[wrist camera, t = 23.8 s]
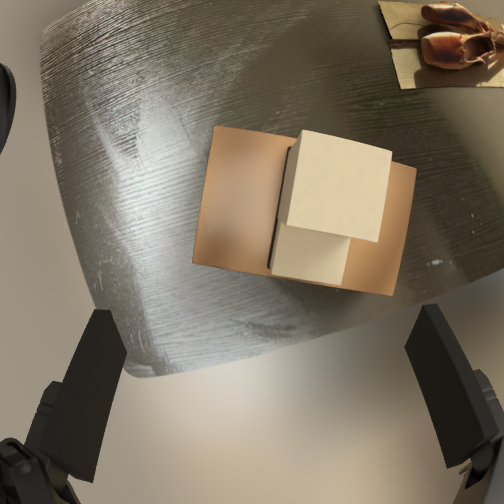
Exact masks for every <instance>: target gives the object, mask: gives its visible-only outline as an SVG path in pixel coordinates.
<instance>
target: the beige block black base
mask: <svg viewBox="0 0 504 504" xmlns="http://www.w3.org/2000/svg"><path fill="white" fill-rule="evenodd" d="M391 157H392V151H388V150H385V149H381V148H378V147H374V146H370V145H367V144H363V143H359V142H355V141H351V140H347V139H343V138H339V137H334V136H330V135H326V134H321V133H317V132H312V131H307V130H302V132H301V133H300V135H299V136H298V138H297V140H296V141H295V143H294V144H293V146H292V147H291V146H289V147H288V148H287V154H286V160H285V165H284V171H283V177H282V183H281V189H280V195H279V200H278V206H277V212H276V217H275V223H274V229H273V234H272V240H271V245H270V251H269V257H268V262H267V268H268V269H271V274H272V275H278V276H284V277H290V278H296V279H302V280H308V281H314V282H320V283H326V284H333V285H339V286H340V285H341V282H342V278H343V273H344V269H345V264H346V260H347V255H348V250H349V245H350V240H351V238H356V239H361V240H366V241H371V242H376V243H377V242H378V238H379V232H380V227H381V222H382V216H383V210H384V205H385V199H386V192H387V186H388V179H389V172H390V165H391Z"/></svg>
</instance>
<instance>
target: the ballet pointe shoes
mask: <svg viewBox="0 0 504 504" xmlns="http://www.w3.org/2000/svg"><path fill="white" fill-rule="evenodd" d="M378 3H379V4H380V6H381V7H380V9H381V10H382V14H384V15H383V16H384V18H385V21H386V24H387V26H388V27H389V31H390V34H391V36H392V37H393V39H392V40H390V41H388V45H389V48H390V49H392V50H391V52H393V53H392V54H393V56H392V58H393V61H394V64H395V69H396V72H397V76H398V80H399V83H400V86H401V89H411V88H425V87H427V88H428V87H444V86H445V87H446V86H447V87H449V85H450V87H451V86H454V87H455V86H457V87H458V86H461V87H463V86H478V87H479V86H480V87H481V86H483V85H484V87H486V86H487V87H488V86H493V87H494V86H495V87H504V25H503V24H501V23H500V21H499V20H496V19H492V18H490V17H484V16H482V15H481V16H480V15H475V14H472V13H470V12H469V11H468V10H467V9H465V8H464V7H463V6H461V5H459V4H457V3H455V2H453V3H448V2H445V1H441V2H440V3H436V4H426V5H424V4H412V3H405V2H404V3H399V2H387V1H385V2H382V1H378Z"/></svg>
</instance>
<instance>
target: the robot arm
mask: <svg viewBox="0 0 504 504" xmlns="http://www.w3.org/2000/svg"><path fill="white" fill-rule="evenodd" d="M405 350H406V352H407V355H408V357H409V360H410V362H411V365H412V367H413V370H414V372H415V375H416V378H417V380H418V383H419V386H420V388H421V391H422V394H423V396H424V399H425V402H426V405H427V407H428V410H429V413H430V416H431V419H432V422H433V425H434V428H435V431H436V434H437V437H438V440H439V444H440V447H441V450H442V453H443V456H444V460H445V463H446V467H447V469H448V468H451V467H454V466H457V465H460V464H462V463H463V462H465V461H466V460H467V459H468V458H470V459H471V463H469V464H468V465H467V466H465V467H464V468H463V469H461V471H460V472H459V474H460V475H461V474H462V473H464V472H465V471H466V470H467V471H466V473H465V474H464V478H463V481H462V484H461V486H460V488H459V491H458V493H457V496H456V498H455V500H454V502H453V504H504V412H503V409H502V407H501V405H500V403H499V401H498V399H497V398H496V394H495V392H494V390H492V386H491V384H490V381H489V379H488V378H487V377H486V375H485V374H484V373H483V372H482V371H481V370H480V369H479V370H474V371H473V370H472V368H471V366H470V364H469V362H468V360H467V358H466V356H465V354H464V352H463V350H462V348H461V346H460V344H459V342H458V340H457V339H456V337H455V335H454V333H453V331H452V329H451V328H450V326H449V324H448V322H447V321H446V319H445V317H444V315H443V313H442V312H441V310H440V308H439V307H438V305H437V304H428V305H423V306H422V308H421V311H420V313H419V316H418V318H417V320H416V322H415V325H414V327H413V329H412V332H411V334H410V336H409V338H408V340H407V342H406V345H405ZM126 355H127V351H126V349H125V347H124V344H123V342H122V339H121V337H120V334H119V332H118V329H117V327H116V324H115V322H114V319H113V316H112V314H111V311H110V310H98V309H94V311H93V313H92V316H91V318H90V320H89V322H88V324H87V326H86V328H85V330H84V333H83V335H82V337H81V340H80V342H79V344H78V346H77V348H76V351H75V353H74V355H73V358H72V360H71V362H70V365H69V367H68V370H67V372H66V375H65V377H64V379H63V382H62V383H61V382H56V381H52V382H51V383H50V385H49V386H48V387H47V388H46V389H45V390H44V393H43V395H42V398H41V401H40V404H39V406H38V408H37V413H35V416H34V419H33V421H32V424H31V427H30V430H29V433H28V435H27V439H26V441H25V444H24V445H23V444H22V443H20V442H19V441H18V440H17V439H14V438H7V439H4V440H3V441H1V442H0V504H81V503H80V502H79V500H78V498H77V496H76V494H75V492H74V490H73V488H72V486H71V484H70V482H69V481H68V480H67V478H68V474H70V475H71V476H73V477H74V478H76V479H79V480H83V481H87V482H90V483H93V480H94V475H95V471H96V466H97V461H98V457H99V453H100V449H101V445H102V440H103V436H104V432H105V428H106V425H107V421H108V417H109V413H110V409H111V406H112V402H113V398H114V395H115V392H116V388H117V384H118V381H119V378H120V374H121V371H122V368H123V364H124V361H125V358H126Z"/></svg>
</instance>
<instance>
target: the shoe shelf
mask: <svg viewBox="0 0 504 504" xmlns="http://www.w3.org/2000/svg"><path fill="white" fill-rule="evenodd" d="M296 140H297V139H296V138H291V137H285V136H280V135H274V134H268V133H263V132H257V131H250V130H244V129H237V128H230V127H223V126H215V127H214V132H213V138H212V143H211V148H210V154H209V159H208V165H207V170H206V176H205V182H204V188H203V193H202V200H201V206H200V212H199V218H198V225H197V231H196V238H195V245H194V252H193V259H192V263H194V264H200V265H205V266H211V267H217V268H222V269H228V270H234V271H240V272H245V273H251V274H257V275H263V276H269V277H275V278H281V279H287V280H293V281H299V282H305V283H311V284H318V285H324V286H330V287H337V288H343V289H349V290H356V291H362V292H369V293H375V294H382V295H389V296H392V295H393V291H394V287H395V283H396V279H397V275H398V271H399V266H400V262H401V257H402V253H403V248H404V243H405V238H406V233H407V228H408V222H409V216H410V211H411V205H412V198H413V192H414V185H415V177H416V168H412V167H409V166H406V165H402V164H399V163H396V162H392V161H391V165H390V172H389V179H388V186H387V192H386V199H385V205H384V210H383V216H382V222H381V227H380V232H379V238H378V242H377V243H376V242H371V241H366V240H361V239H356V238H351V240H350V245H349V250H348V255H347V260H346V264H345V269H344V273H343V278H342V282H341V285H340V286H339V285H333V284H326V283H320V282H314V281H308V280H302V279H296V278H290V277H284V276H278V275H272V274H271V269H268V268H267V262H268V257H269V251H270V245H271V240H272V234H273V229H274V223H275V217H276V212H277V206H278V200H279V195H280V189H281V183H282V177H283V171H284V165H285V160H286V154H287V148H288V147H289V146H291V147H292V146H293V144H294V143H295V141H296Z"/></svg>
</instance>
